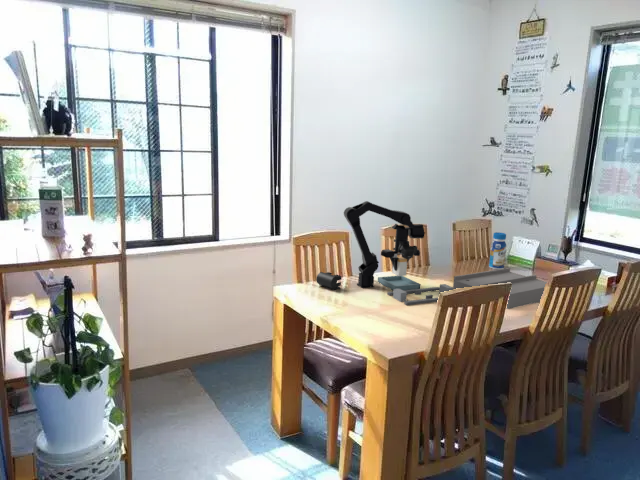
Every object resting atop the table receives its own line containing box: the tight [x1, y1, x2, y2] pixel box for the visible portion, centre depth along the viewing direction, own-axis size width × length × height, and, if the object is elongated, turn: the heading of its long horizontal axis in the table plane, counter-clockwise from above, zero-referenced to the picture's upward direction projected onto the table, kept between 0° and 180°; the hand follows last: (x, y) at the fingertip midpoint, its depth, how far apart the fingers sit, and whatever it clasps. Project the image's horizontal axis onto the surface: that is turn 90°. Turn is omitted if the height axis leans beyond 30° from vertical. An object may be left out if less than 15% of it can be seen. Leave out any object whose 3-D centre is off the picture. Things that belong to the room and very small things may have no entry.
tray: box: [377, 275, 421, 291], centre depth 242 cm, size 14×17×2 cm
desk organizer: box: [452, 267, 548, 310], centre depth 236 cm, size 32×40×7 cm
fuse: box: [391, 256, 408, 277], centre depth 240 cm, size 4×6×8 cm, turn 24°
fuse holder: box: [386, 283, 454, 306], centre depth 225 cm, size 28×16×4 cm, turn 114°
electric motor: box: [316, 271, 342, 291], centre depth 234 cm, size 10×7×7 cm
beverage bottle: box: [488, 232, 507, 270], centre depth 284 cm, size 8×8×20 cm
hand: (399, 270), depth 241 cm, fingers closed on fuse, 4 cm apart
